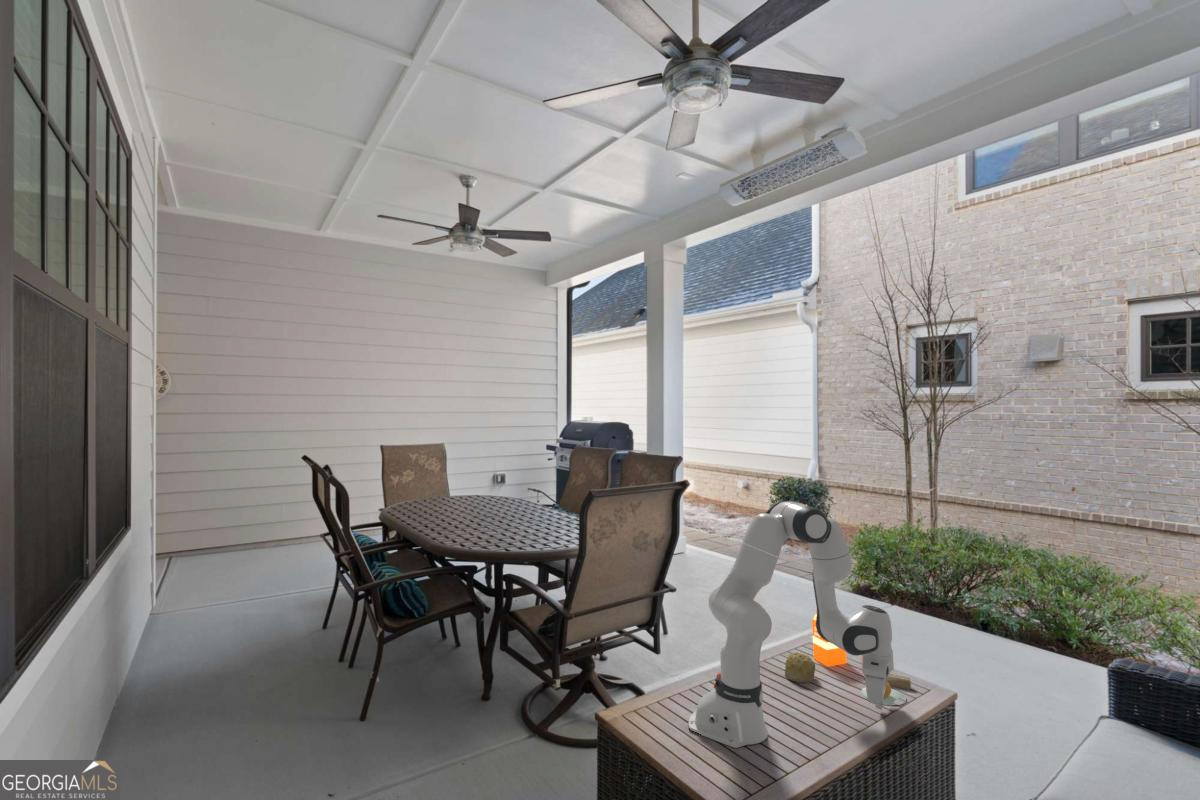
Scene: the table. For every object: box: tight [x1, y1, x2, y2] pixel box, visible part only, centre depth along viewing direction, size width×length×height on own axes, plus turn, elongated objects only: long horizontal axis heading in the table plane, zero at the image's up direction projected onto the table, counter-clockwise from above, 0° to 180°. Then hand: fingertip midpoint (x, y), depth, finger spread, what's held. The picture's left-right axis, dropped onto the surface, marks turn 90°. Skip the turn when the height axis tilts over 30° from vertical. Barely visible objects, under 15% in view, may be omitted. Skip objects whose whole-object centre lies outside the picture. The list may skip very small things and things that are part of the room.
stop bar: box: [863, 673, 912, 690], centre depth 182 cm, size 2×14×3 cm, turn 57°
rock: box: [784, 652, 816, 684], centre depth 188 cm, size 10×11×10 cm
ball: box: [884, 682, 892, 697], centre depth 174 cm, size 5×5×5 cm
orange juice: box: [811, 611, 848, 667], centre depth 201 cm, size 8×9×20 cm
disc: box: [861, 686, 907, 707], centre depth 174 cm, size 13×13×1 cm
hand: (879, 706), depth 164 cm, fingers closed
